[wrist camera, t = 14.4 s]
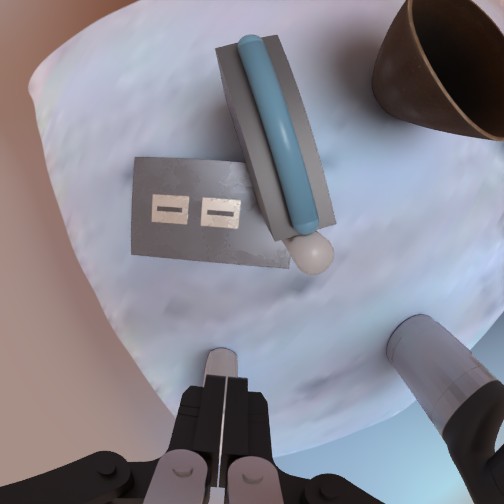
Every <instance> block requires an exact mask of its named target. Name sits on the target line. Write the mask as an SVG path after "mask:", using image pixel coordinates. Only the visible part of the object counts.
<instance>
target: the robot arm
mask: <svg viewBox="0 0 504 504" xmlns="http://www.w3.org/2000/svg"><path fill="white" fill-rule="evenodd" d="M387 357H388V359H389V361H390V362H391V364H392V365H393V366H394V368H395V369H396V371H397V372H398V373H399V375H400V376H401V378H402V379H403V381H404V382H405V383H406V385H407V386H408V388H409V389H410V391H411V392H412V393H413V395H414V396H415V398H416V399H417V401H418V402H419V403H420V405H421V406H422V408H423V409H424V411H425V412H426V414H427V415H428V417H429V418H430V420H431V421H432V423H433V424H434V426H435V427H436V429H437V430H438V432H439V433H440V435H441V436H442V438H443V440H444V441H445V443H446V444H447V447H448V450H449V453H450V456H451V458H452V460H453V462H454V464H455V465H456V467H457V469H458V471H459V473H460V475H461V477H462V478H463V481H464V483H465V485H466V487H467V489H468V491H469V493H470V496H471V498H472V500H473V502H474V504H504V444H503V445H502V446H501V447H500V448H499V450H497V451H496V453H495V449H494V447H495V441H496V438H497V434H498V432H499V429H500V427H501V424H502V422H503V420H504V385H503V384H502V383H501V382H500V381H499V380H498V379H497V378H496V377H495V376H494V375H493V374H492V373H491V372H490V371H489V370H488V369H487V368H485V367H484V366H483V365H482V364H481V363H480V362H479V361H478V360H477V359H476V358H475V357H474V356H472V352H471V351H470V350H469V349H468V348H467V347H466V346H464V345H463V344H462V343H461V342H460V341H459V340H458V339H457V338H456V337H454V336H453V335H452V334H451V333H450V332H449V331H448V330H446V329H445V328H444V327H443V326H442V325H441V324H440V323H436V322H435V321H434V320H433V319H432V318H430V317H429V316H427V315H417V316H413V317H411V318H409V319H408V320H406V321H405V322H403V323H402V324H401V325H400V326H399V327H398V328H397V329H396V330H395V332H394V333H393V335H392V336H391V338H390V340H389V343H388V346H387ZM225 383H226V376H219V375H210V374H206V379H205V384H204V387H198V386H190V387H189V388H188V389H187V390H186V391H185V392H184V393H183V395H182V398H181V402H180V407H179V410H178V415H177V417H176V421H175V425H174V429H173V433H172V437H171V441H170V445H169V448H168V450H167V451H166V453H165V454H164V455H163V456H162V457H160V458H158V459H156V460H153V461H148V462H127V461H126V459H124V458H123V457H122V456H121V455H119V454H117V453H114V452H111V451H99V452H96V453H93V454H91V455H88V456H86V457H84V458H82V459H79V460H77V461H74V462H72V463H69V464H67V465H65V466H62V467H59V468H57V469H54V470H51V471H49V472H46V473H43V474H40V475H37V476H34V477H31V478H29V479H25V480H22V481H19V482H16V483H12V484H9V485H5V486H2V487H0V504H208V502H209V498H210V487H217V478H218V466H219V453H220V441H221V430H222V418H223V407H224V395H225ZM219 487H222V488H225V497H224V504H385V503H383V502H381V501H380V500H378V499H376V498H374V497H373V496H371V495H370V494H368V493H366V492H365V491H363V490H362V489H360V488H358V487H357V486H355V485H353V484H352V483H351V482H349V481H348V480H346V479H345V478H343V477H341V476H339V475H336V474H321V475H318V476H315V477H314V478H312V479H311V480H310V479H305V478H300V477H296V476H292V475H289V474H287V473H285V472H283V471H281V470H280V469H279V468H278V467H277V466H276V465H275V463H274V461H273V458H272V449H271V437H270V426H269V415H268V403H267V401H266V399H265V398H264V396H263V395H262V393H261V392H248V379H247V378H240V377H229V376H228V380H227V391H226V403H225V414H224V426H223V439H222V452H221V465H220V479H219Z"/></svg>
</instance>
